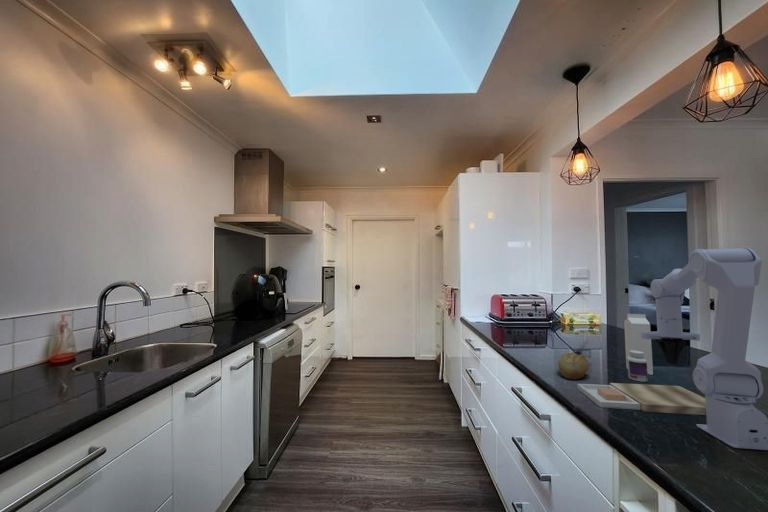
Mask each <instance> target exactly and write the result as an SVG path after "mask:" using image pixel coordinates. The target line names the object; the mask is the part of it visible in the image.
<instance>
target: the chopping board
mask: <svg viewBox="0 0 768 512" xmlns="http://www.w3.org/2000/svg"><path fill="white" fill-rule="evenodd" d="M609 385H611V386H612V387H614V388H616V389H617V390H619V391H620V392H622V393H623V394H625V395H627V396H628V397H630V398H631V399H633V400H634V401H636V402H638V403H639V404H640V410H641V411H642V412H645V413H661V414H662V413H665V414H679V415H697V416H698V415H699V416H706V404H705V396H701V395H699V394H697V393H696V392H693V391H691V390H688V389H686V388H684V387H682V386H679V385H666V384H665V385H664V384H645V383H644V384H642V383H640V384H639V383H622V382H620V383H618V382H609Z"/></svg>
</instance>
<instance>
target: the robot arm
mask: <svg viewBox="0 0 768 512" xmlns="http://www.w3.org/2000/svg"><path fill="white" fill-rule="evenodd" d="M762 262H763V260H762V259H761V258H760V256H759V255H758V254H757V252H755V250H754V249H752V248H750V247H741V248H739V247H738V248H737V247H736V248H710V249H709V248H708V249H707V248H705V249H703V248H696V249H694V250H693V251H692V252H691V253H690V254H689V257H688V263H687V264H686V265H685V266H684V267H683V268H674V269H672V271H671V272H670V273H668V274H667V275H666V276H665V277H663V278H662V279H658V278H657V279H656V278H655V279H652V281H651V282H650V293H651V295H652V297H653V298H655V299H654V300H655V311H656V312H655V313H656V314H655V315H656V329H657V330H655V331H651V332H641V333H642V338H644V339H651V340H655V342H656V343H657V345H658V346H659V347H660V349H661V351H662V353H663V355H664V357H665V361H666V363H667V364H671V365H677V364H678V361H679V358H680V355H681V353H682V350H683V349H684V348H685V347H686V345H687V341H688V340H689V341H701V336H700V333H696V332H684V331H683V316H682V315H683V314H682V305H683V304H684V297H685V295H686V291H687V290H689V289H690V288H693V286H695V285H696V283H697V279H698V278H699V279H700V280H701V281H702V282H703V283H704V284H705V285H706V286H709V287H713V288H715V290H716V291H717V298H716V306H715V307H716V308H715V314H714V315H715V316H714V325H713V334H712V335H713V336H712V342H711V352H710V353H708V354H706V355H704V356H702V357H699V358H698V359H697V361H696V366H695V368H694V369H693V371H692V380H693V383H694V385H695V387H696V388H697V389H698V391H700V393H702V394H704V398H705V404H706V415H705V417H706V424H702V423H700V424H698V423H696V427H697V428H699V429H700V430H702V431H704V432H705V433H708V434H709V435H711V436H713V437H714V438H716V439H718V440H720V441H721V442H723V443H725V444H726V445H728V446H730V447H731V448H735V449H746V450H748V449H750V450H761V451H768V417H767V415H766V414H764V412H762V411H761V410H759V409H758V408H756V407H755V406H754V405H753V404H756V401H757V399H760V398H761V397H762V395H763V393H764V385H763V382H762V372H761V371H760V369H758V368H757V367H756V366H755V365H754V364H753V363H751V362H749V361H747V359H746V357H747V349H748V344H749V343H748V341H749V333H750V328H751V327H750V326H751V319H752V312H753V303H754V299H755V298H754V296H755V289H756V286H759V284H760V277H761V270H762V264H763V263H762ZM686 340H687V341H686Z"/></svg>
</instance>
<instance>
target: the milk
mask: <svg viewBox="0 0 768 512" xmlns="http://www.w3.org/2000/svg"><path fill="white" fill-rule="evenodd" d="M646 316H647V315H646V314H645V313H627V314H626V318H625V319H624V321H623V327H624V343H625V344H624V345H625V347H624V348H625V363H626V364H625V365H626V369H627V370H628V364H627V358H628V357H630V354H629V351H640V352H643V353H644V357H643V358H644V359H646V361H647V372H648V374H649V375H652V376H653V375H654V369H653V368H654V367H653V366H654V365H653V364H654V363H653V349H652V347H653V346H652V339H644V338H642V333H641V332H652V331H651V323H650V322H649V320H648V319H647V318H646ZM649 375H648V376H649Z"/></svg>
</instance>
